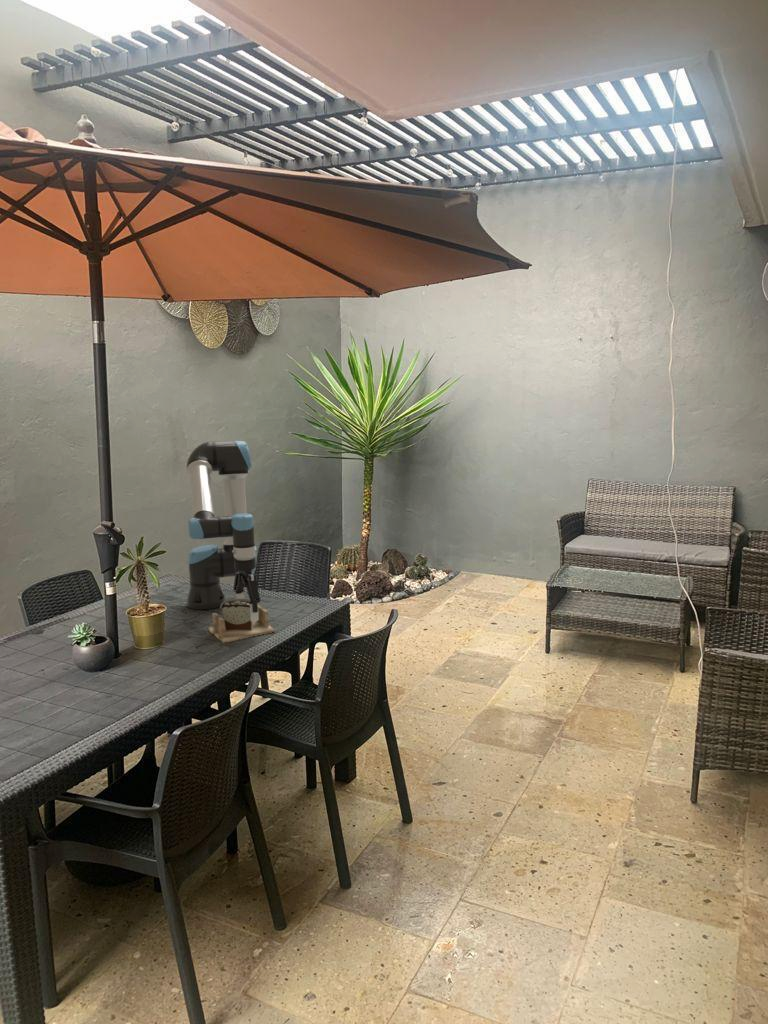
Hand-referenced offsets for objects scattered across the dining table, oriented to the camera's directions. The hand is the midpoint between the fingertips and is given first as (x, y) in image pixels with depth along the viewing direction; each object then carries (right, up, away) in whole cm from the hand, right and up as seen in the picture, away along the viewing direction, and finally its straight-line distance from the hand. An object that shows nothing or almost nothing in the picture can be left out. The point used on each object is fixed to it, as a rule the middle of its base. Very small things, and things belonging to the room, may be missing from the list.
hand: (247, 615), depth 261 cm
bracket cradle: (-2, -5, 0) cm, 6 cm away
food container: (-3, -4, 0) cm, 5 cm away
